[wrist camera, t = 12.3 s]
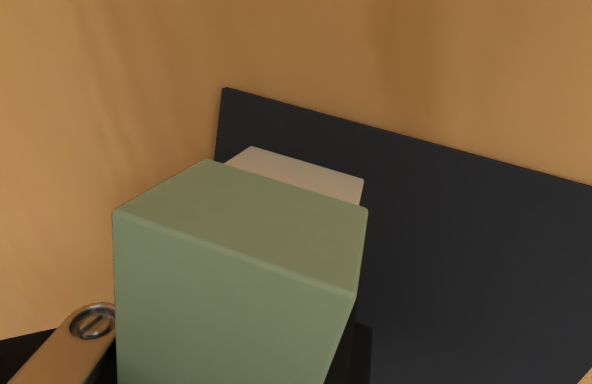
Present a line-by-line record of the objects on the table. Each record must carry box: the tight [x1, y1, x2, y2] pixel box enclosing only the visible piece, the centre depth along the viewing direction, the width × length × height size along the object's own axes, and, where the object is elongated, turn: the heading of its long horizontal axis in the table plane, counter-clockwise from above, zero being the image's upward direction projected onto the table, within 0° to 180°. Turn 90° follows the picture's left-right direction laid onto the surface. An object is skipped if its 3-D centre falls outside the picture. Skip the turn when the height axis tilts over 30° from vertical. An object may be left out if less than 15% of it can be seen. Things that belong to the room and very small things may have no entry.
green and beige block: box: [112, 146, 368, 384], centre depth 9 cm, size 10×4×6 cm, turn 168°
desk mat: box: [214, 87, 592, 384], centre depth 13 cm, size 20×13×1 cm, turn 168°
